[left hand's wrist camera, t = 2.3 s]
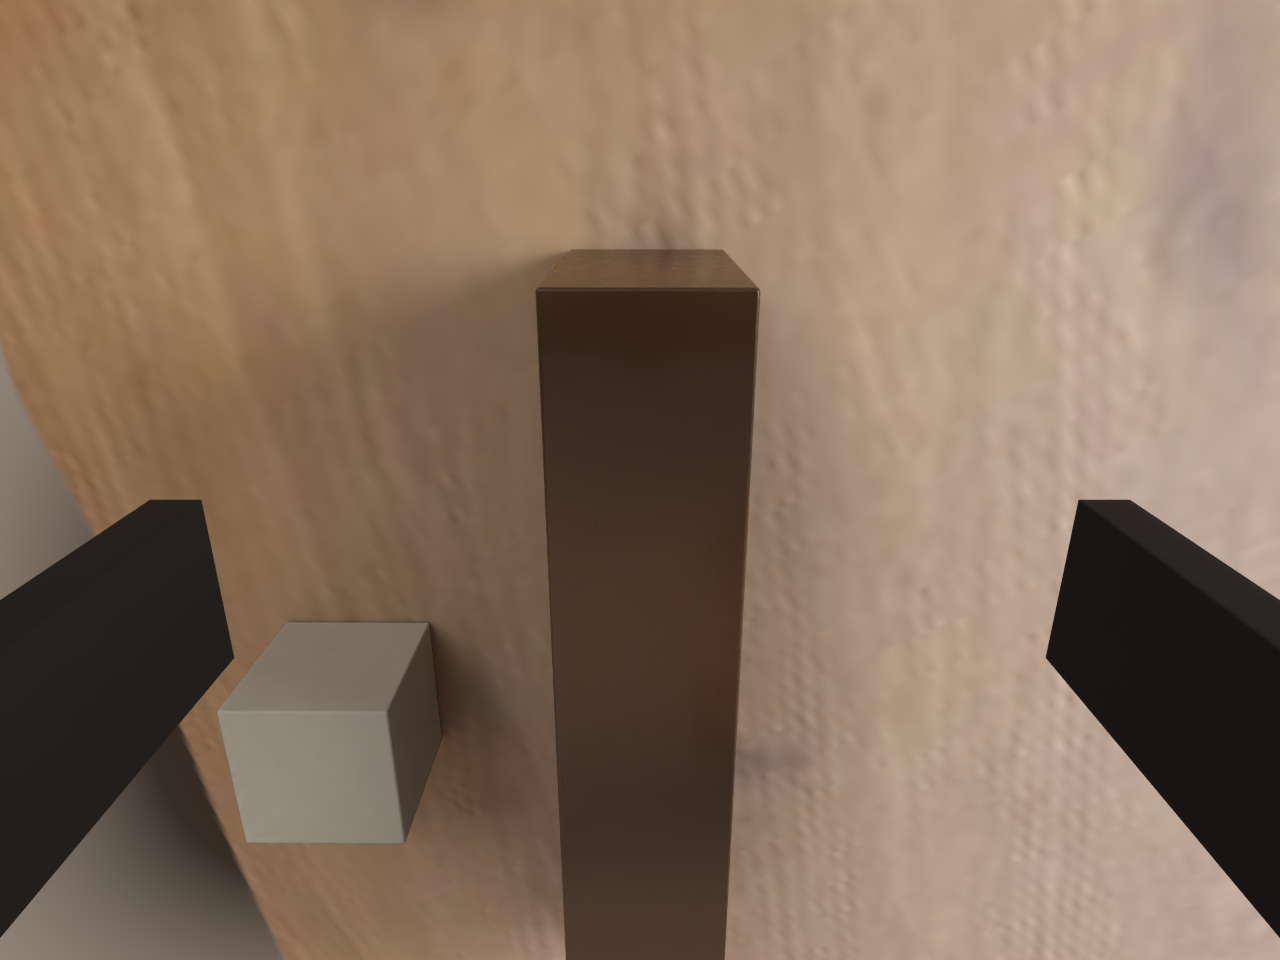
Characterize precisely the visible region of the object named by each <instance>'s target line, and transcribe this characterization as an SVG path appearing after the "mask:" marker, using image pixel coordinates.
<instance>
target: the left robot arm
mask: <svg viewBox="0 0 1280 960" xmlns="http://www.w3.org/2000/svg"><path fill="white" fill-rule="evenodd" d="M233 659H234V654H233V649H232V645H231V640H230V635H229V630H228V625H227V621H226V616H225V611H224V606H223V601H222V597H221V592H220V587H219V582H218V577H217V573H216V568H215V563H214V558H213V553H212V549H211V544H210V539H209V534H208V529H207V525H206V520H205V515H204V510H203V505H202V501H201V500H149V501H148V502H146V503H145V504H143V505H142V506H140V507H139V508H137V509H136V510H134V511H133V512H131V513H130V514H128V515H127V516H125V517H124V518H122V519H121V520H119V521H118V522H116V523H115V524H113V525H112V526H110V527H109V528H107V529H106V530H104V531H103V532H101V533H100V534H98V535H97V536H95V537H94V538H92V539H91V540H89V541H88V542H86V543H85V544H84V545H82V546H80V547H79V548H77V549H76V550H74V551H73V552H71V553H70V554H69V555H67V556H66V557H64V558H63V559H61V560H60V561H58V562H57V563H55V564H54V565H52V566H51V567H49V568H48V569H46V570H45V571H43V572H42V573H40V574H39V575H37V576H36V577H34V578H33V579H31V580H30V581H28V582H27V583H25V584H24V585H22V586H21V587H19V588H18V589H16V590H15V591H13V592H12V593H10V594H9V595H7V596H6V597H4V598H3V599H1V600H0V937H1V936H2V935H3V934H4V933H5V931H6V930H7V929H8V928H9V927H10V925H11V924H12V923H13V922H14V921H15V919H16V918H17V917H18V916H19V915H20V914H21V912H22V911H23V910H24V909H25V908H26V906H27V905H28V904H29V903H30V902H31V900H32V899H33V898H34V897H35V896H36V894H37V893H38V892H39V891H40V890H41V888H42V887H43V886H44V885H45V884H46V882H47V881H48V880H49V879H50V878H51V876H52V875H53V874H54V873H55V872H56V870H57V869H58V868H59V867H60V866H61V864H62V863H63V862H64V861H65V860H66V858H67V857H68V856H69V855H70V854H71V852H72V851H73V850H74V849H75V848H76V846H77V845H78V844H79V843H80V842H81V840H82V839H83V838H84V837H85V836H86V834H87V833H88V832H89V831H90V830H91V829H92V827H93V826H94V825H95V824H96V823H97V821H98V820H99V819H100V818H101V817H102V815H103V814H104V813H105V812H106V811H107V809H108V808H109V807H110V806H111V805H112V803H113V802H114V801H115V800H116V799H117V797H118V796H119V795H120V794H121V793H122V791H123V790H124V789H125V788H126V787H127V785H128V784H129V783H130V782H131V781H132V779H133V778H134V777H135V776H136V775H137V773H138V772H139V771H140V770H141V769H142V767H143V766H144V765H145V764H146V763H147V761H148V760H149V759H150V758H151V757H152V755H153V754H154V753H155V752H156V751H157V749H158V748H159V747H160V746H161V745H162V744H163V742H164V741H165V740H166V739H167V737H168V736H169V735H170V734H171V733H172V732H173V730H174V729H175V728H176V727H177V726H178V724H179V723H180V722H181V721H182V720H183V718H184V717H185V716H186V715H187V714H188V712H189V711H190V710H191V709H192V708H193V706H194V705H195V704H196V703H197V702H198V700H199V699H200V698H201V697H202V696H203V694H204V693H205V692H206V691H207V690H208V688H209V687H210V686H211V685H212V684H213V682H214V681H215V680H216V679H217V678H218V676H219V675H220V674H221V673H222V672H223V671H224V669H225V668H226V667H227V666H228V665H229V663H230V662H231V661H232V660H233ZM1046 659H1047V660H1048V661H1049V662H1050V663H1051V665H1052V666H1053V667H1054V668H1055V669H1056V671H1057V672H1058V673H1059V674H1060V675H1061V676H1062V678H1063V679H1064V680H1065V681H1066V682H1067V684H1068V685H1069V686H1070V687H1071V688H1072V690H1073V691H1074V692H1075V693H1076V694H1077V696H1078V697H1079V698H1080V699H1081V700H1082V702H1083V703H1084V704H1085V705H1086V706H1087V708H1088V709H1089V710H1090V711H1091V712H1092V714H1093V715H1094V716H1095V717H1096V718H1097V720H1098V721H1099V722H1100V723H1101V724H1102V726H1103V727H1104V728H1105V729H1106V730H1107V732H1108V733H1109V734H1110V735H1111V736H1112V738H1113V739H1114V740H1115V741H1116V742H1117V744H1118V745H1119V746H1120V747H1121V748H1122V750H1123V751H1124V752H1125V753H1126V754H1127V756H1128V757H1129V758H1130V759H1131V760H1132V761H1133V763H1134V764H1135V765H1136V766H1137V767H1138V769H1139V770H1140V771H1141V772H1142V773H1143V775H1144V776H1145V777H1146V778H1147V779H1148V781H1149V782H1150V783H1151V784H1152V785H1153V787H1154V788H1155V789H1156V790H1157V791H1158V793H1159V794H1160V795H1161V796H1162V797H1163V799H1164V800H1165V801H1166V802H1167V803H1168V805H1169V806H1170V807H1171V808H1172V809H1173V811H1174V812H1175V813H1176V814H1177V815H1178V817H1179V818H1180V819H1181V820H1182V821H1183V823H1184V824H1185V825H1186V826H1187V827H1188V829H1189V830H1190V831H1191V832H1192V833H1193V835H1194V836H1195V837H1196V838H1197V839H1198V840H1199V842H1200V843H1201V844H1202V845H1203V846H1204V848H1205V849H1206V850H1207V851H1208V852H1209V854H1210V855H1211V856H1212V857H1213V858H1214V860H1215V861H1216V862H1217V863H1218V864H1219V866H1220V867H1221V868H1222V869H1223V870H1224V872H1225V873H1226V874H1227V875H1228V876H1229V878H1230V879H1231V880H1232V881H1233V882H1234V884H1235V885H1236V886H1237V887H1238V888H1239V890H1240V891H1241V892H1242V893H1243V894H1244V896H1245V897H1246V898H1247V899H1248V900H1249V902H1250V903H1251V904H1252V905H1253V906H1254V908H1255V909H1256V910H1257V911H1258V912H1259V914H1260V915H1261V916H1262V917H1263V918H1264V920H1265V921H1266V922H1267V923H1268V924H1269V925H1270V927H1271V928H1272V929H1273V930H1274V931H1275V933H1276V934H1277V935H1278V936H1279V937H1280V600H1279V599H1277V598H1276V597H1274V596H1273V595H1271V594H1270V593H1268V592H1267V591H1265V590H1264V589H1262V588H1261V587H1259V586H1258V585H1256V584H1255V583H1253V582H1252V581H1250V580H1249V579H1247V578H1246V577H1244V576H1243V575H1241V574H1240V573H1238V572H1237V571H1235V570H1234V569H1232V568H1231V567H1229V566H1228V565H1226V564H1225V563H1223V562H1222V561H1220V560H1219V559H1217V558H1216V557H1214V556H1213V555H1211V554H1210V553H1209V552H1207V551H1206V550H1204V549H1203V548H1201V547H1200V546H1198V545H1197V544H1195V543H1194V542H1192V541H1191V540H1189V539H1188V538H1186V537H1185V536H1183V535H1182V534H1180V533H1179V532H1177V531H1176V530H1174V529H1173V528H1171V527H1170V526H1168V525H1167V524H1165V523H1164V522H1162V521H1161V520H1159V519H1158V518H1156V517H1155V516H1153V515H1152V514H1150V513H1149V512H1147V511H1146V510H1144V509H1143V508H1141V507H1140V506H1138V505H1137V504H1135V503H1134V502H1132V501H1131V500H1079V501H1078V505H1077V510H1076V515H1075V520H1074V525H1073V529H1072V534H1071V539H1070V544H1069V549H1068V553H1067V558H1066V563H1065V568H1064V573H1063V577H1062V582H1061V587H1060V592H1059V597H1058V601H1057V606H1056V611H1055V616H1054V621H1053V625H1052V630H1051V635H1050V640H1049V645H1048V649H1047V654H1046Z"/></svg>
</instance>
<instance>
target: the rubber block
mask: <svg viewBox="0 0 1280 960" xmlns="http://www.w3.org/2000/svg"><path fill="white" fill-rule="evenodd" d="M217 716H218V721H219V725H220V730H221V734H222V738H223V743H224V747H225V752H226V756H227V760H228V765H229V769H230V774H231V778H232V782H233V787H234V791H235V795H236V800H237V804H238V809H239V813H240V817H241V822H242V826H243V831H244V835H245V839H246V842H247V843H358V844H403V843H405V841H406V838H407V835H408V833H409V830H410V827H411V824H412V821H413V819H414V816H415V813H416V810H417V807H418V804H419V802H420V799H421V796H422V793H423V790H424V788H425V785H426V782H427V779H428V776H429V773H430V771H431V768H432V765H433V762H434V759H435V757H436V754H437V751H438V748H439V745H440V742H441V740H442V736H441V727H440V718H439V708H438V699H437V690H436V680H435V671H434V662H433V653H432V643H431V634H430V625H429V623H404V622H287V623H286V624H285V625H284V626H283V628H282V629H281V630H280V631H279V633H278V634H277V635H276V636H275V638H274V639H273V640H272V642H271V643H270V644H269V645H268V647H267V648H266V649H265V650H264V652H263V653H262V654H261V656H260V657H259V658H258V659H257V661H256V662H255V663H254V664H253V666H252V667H251V668H250V670H249V671H248V672H247V673H246V675H245V676H244V677H243V678H242V680H241V681H240V682H239V684H238V685H237V686H236V687H235V689H234V690H233V691H232V692H231V694H230V695H229V696H228V698H227V699H226V700H225V701H224V703H223V704H222V705H221V706H220V708H219V709H218V710H217Z"/></svg>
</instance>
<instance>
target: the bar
mask: <svg viewBox="0 0 1280 960" xmlns="http://www.w3.org/2000/svg"><path fill="white" fill-rule="evenodd" d="M759 305H760V290H759V288H758V287H757V286H756V285H755V284H754V283H753V282H752V281H751V280H750V278H749V277H748V276H747V275H746V274H745V273H744V272H743V271H742V270H741V269H740V268H739V267H738V266H737V264H736V263H735V262H734V261H733V260H732V259H731V258H730V257H729V256H728V255H727V254H726V253H725V252H724V251H723V250H570V252H569V253H568V254H567V255H566V256H565V257H564V258H563V259H562V261H561V262H560V263H559V264H558V265H557V266H556V267H555V268H554V270H553V271H552V272H551V273H550V274H549V275H548V276H547V277H546V279H545V280H544V281H543V282H542V283H541V284H540V285H539V286H538V288H537V289H536V311H537V333H538V355H539V377H540V399H541V421H542V443H543V465H544V487H545V509H546V531H547V553H548V575H549V597H550V619H551V641H552V663H553V685H554V707H555V729H556V751H557V773H558V795H559V817H560V839H561V862H562V884H563V906H564V928H565V950H566V960H725V943H726V925H727V906H728V887H729V868H730V850H731V831H732V812H733V793H734V774H735V756H736V737H737V718H738V699H739V681H740V662H741V643H742V624H743V606H744V587H745V568H746V549H747V530H748V512H749V493H750V474H751V455H752V437H753V418H754V399H755V380H756V361H757V343H758V324H759Z"/></svg>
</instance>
